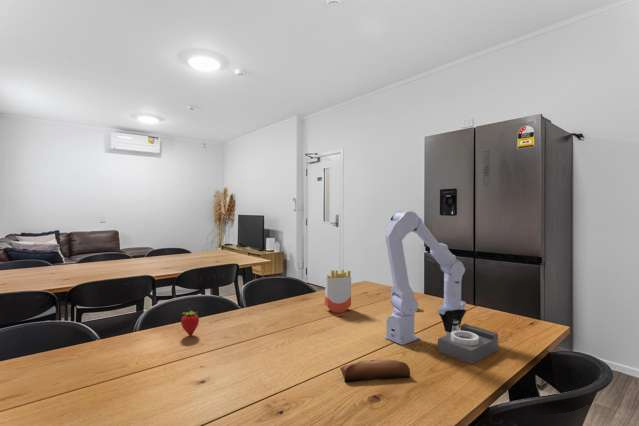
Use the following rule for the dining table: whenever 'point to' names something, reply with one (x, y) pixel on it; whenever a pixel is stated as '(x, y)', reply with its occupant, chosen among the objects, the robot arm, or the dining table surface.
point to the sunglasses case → (374, 369)
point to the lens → (454, 326)
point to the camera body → (469, 343)
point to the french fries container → (338, 291)
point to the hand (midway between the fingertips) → (452, 330)
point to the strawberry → (190, 322)
